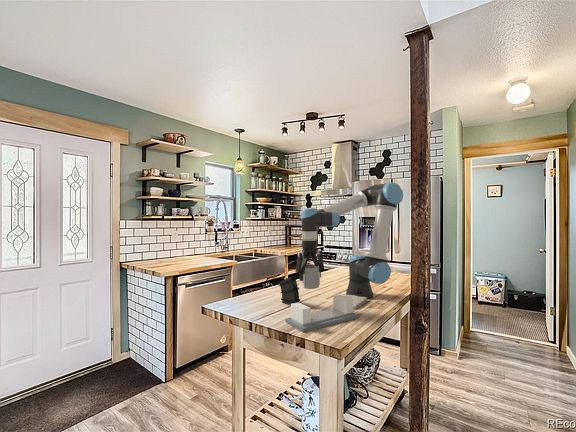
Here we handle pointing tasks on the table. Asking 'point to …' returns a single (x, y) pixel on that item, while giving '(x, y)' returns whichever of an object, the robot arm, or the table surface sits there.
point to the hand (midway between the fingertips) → (310, 285)
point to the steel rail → (324, 316)
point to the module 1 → (301, 313)
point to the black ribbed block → (289, 291)
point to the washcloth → (357, 300)
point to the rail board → (321, 324)
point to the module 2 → (343, 304)
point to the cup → (311, 277)
